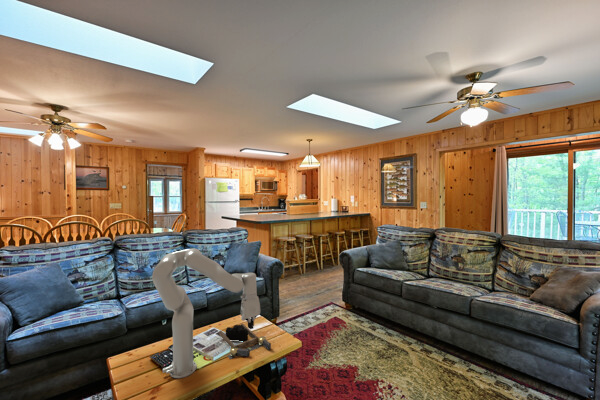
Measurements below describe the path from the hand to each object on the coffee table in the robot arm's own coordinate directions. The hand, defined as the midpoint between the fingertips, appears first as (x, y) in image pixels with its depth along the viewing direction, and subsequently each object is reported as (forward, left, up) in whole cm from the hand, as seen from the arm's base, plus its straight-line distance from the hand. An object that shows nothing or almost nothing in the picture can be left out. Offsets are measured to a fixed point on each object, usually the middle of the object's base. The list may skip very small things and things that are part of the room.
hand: (250, 327), depth 146 cm
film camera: (+2, +22, -16) cm, 27 cm away
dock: (+2, +21, -16) cm, 26 cm away
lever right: (+11, +3, -15) cm, 19 cm away
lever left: (-5, +4, -15) cm, 17 cm away
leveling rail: (+2, +6, -16) cm, 17 cm away
